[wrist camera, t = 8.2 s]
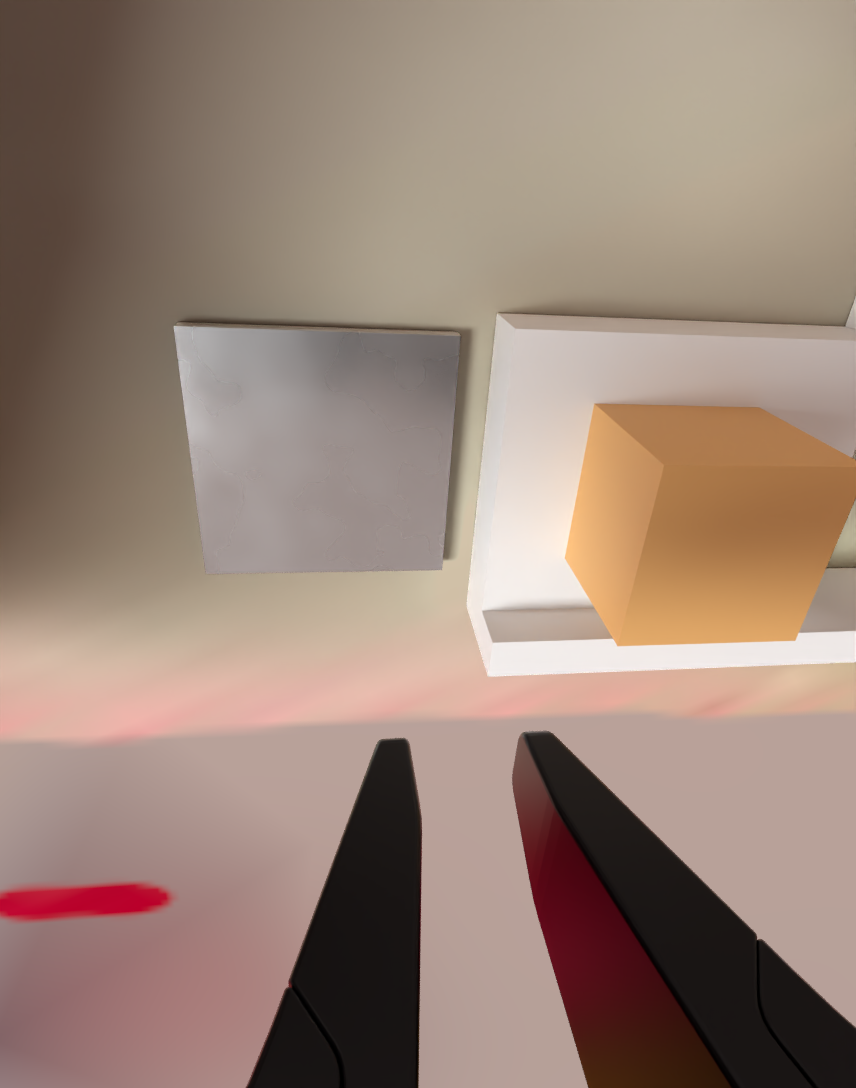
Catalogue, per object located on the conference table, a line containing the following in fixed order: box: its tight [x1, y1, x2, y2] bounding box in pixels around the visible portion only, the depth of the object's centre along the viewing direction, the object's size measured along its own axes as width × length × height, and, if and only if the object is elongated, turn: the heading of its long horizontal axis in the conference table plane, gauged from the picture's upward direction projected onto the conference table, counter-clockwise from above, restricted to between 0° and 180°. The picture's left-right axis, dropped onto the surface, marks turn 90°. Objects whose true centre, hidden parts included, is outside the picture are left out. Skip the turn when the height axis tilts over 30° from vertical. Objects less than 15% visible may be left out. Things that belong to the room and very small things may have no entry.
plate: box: [174, 322, 461, 574], centre depth 18 cm, size 7×7×1 cm
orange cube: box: [565, 404, 856, 646], centre depth 16 cm, size 4×4×4 cm
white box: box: [466, 298, 856, 677], centre depth 18 cm, size 10×18×4 cm, turn 87°
